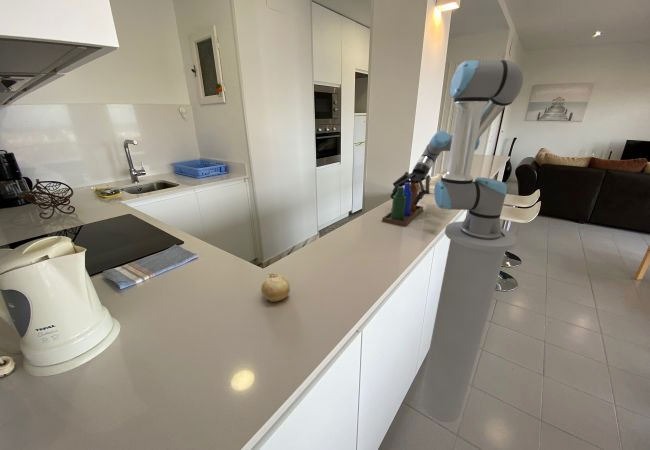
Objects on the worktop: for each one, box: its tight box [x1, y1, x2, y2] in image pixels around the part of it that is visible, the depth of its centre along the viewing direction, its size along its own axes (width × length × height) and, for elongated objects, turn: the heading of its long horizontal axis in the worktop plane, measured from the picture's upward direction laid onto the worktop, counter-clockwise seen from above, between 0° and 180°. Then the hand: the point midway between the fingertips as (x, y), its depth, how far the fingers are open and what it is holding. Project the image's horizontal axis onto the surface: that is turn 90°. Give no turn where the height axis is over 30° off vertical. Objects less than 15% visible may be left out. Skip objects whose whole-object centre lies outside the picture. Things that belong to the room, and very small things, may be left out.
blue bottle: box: [403, 183, 413, 216], centre depth 141 cm, size 6×6×16 cm
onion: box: [260, 272, 291, 303], centre depth 77 cm, size 8×8×7 cm
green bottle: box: [391, 186, 406, 221], centre depth 133 cm, size 6×6×16 cm
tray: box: [381, 204, 424, 227], centre depth 144 cm, size 12×30×2 cm, turn 146°
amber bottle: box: [410, 182, 419, 211], centre depth 149 cm, size 6×6×16 cm
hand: (402, 200), depth 140 cm, fingers open, 13 cm apart
